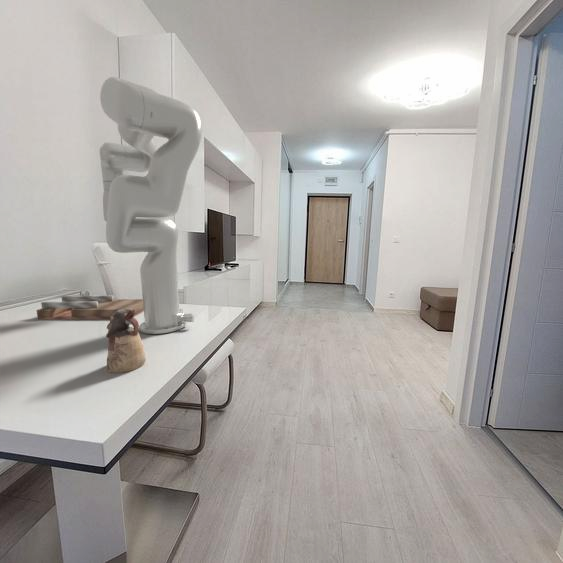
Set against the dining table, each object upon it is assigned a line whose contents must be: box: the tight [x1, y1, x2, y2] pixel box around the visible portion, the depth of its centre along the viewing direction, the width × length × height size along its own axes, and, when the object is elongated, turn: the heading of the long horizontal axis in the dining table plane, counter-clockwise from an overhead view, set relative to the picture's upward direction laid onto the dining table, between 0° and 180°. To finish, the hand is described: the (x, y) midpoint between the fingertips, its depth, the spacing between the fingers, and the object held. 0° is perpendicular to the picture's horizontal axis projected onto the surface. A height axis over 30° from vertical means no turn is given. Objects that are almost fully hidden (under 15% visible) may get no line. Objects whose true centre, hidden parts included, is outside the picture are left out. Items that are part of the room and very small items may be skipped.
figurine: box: [105, 309, 147, 374], centre depth 59 cm, size 7×7×12 cm
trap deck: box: [36, 295, 144, 320], centre depth 98 cm, size 30×14×5 cm, turn 91°
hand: (121, 241), depth 100 cm, fingers closed on block, 5 cm apart
